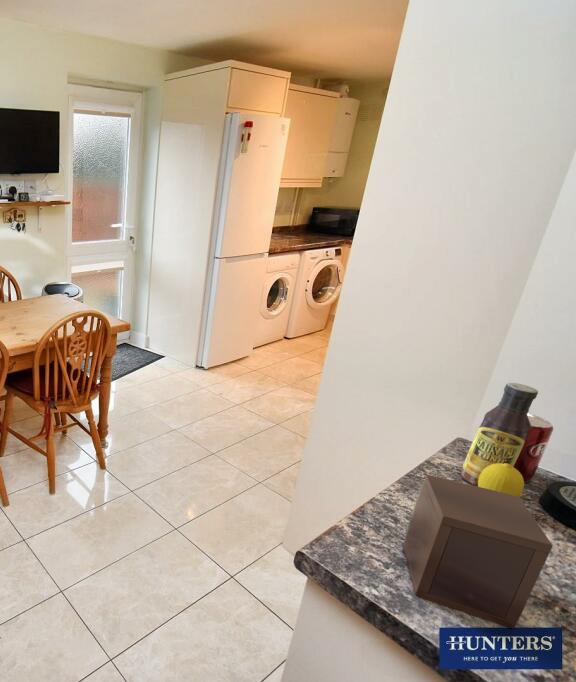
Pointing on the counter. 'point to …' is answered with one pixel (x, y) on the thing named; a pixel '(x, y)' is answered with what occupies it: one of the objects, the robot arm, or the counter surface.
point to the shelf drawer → (414, 508)
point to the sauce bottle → (500, 432)
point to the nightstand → (474, 550)
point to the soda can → (533, 447)
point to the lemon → (502, 479)
